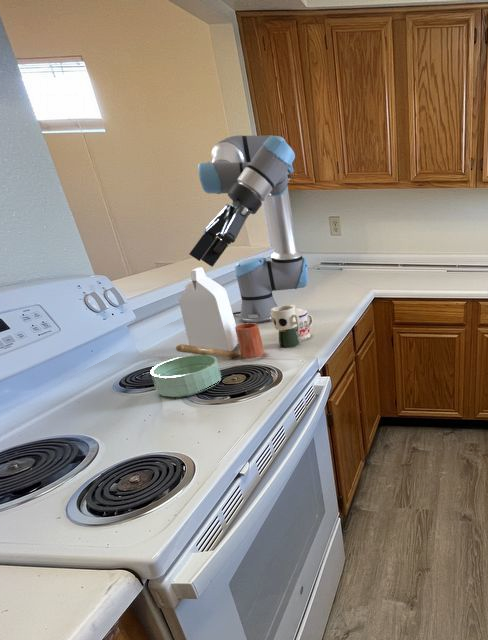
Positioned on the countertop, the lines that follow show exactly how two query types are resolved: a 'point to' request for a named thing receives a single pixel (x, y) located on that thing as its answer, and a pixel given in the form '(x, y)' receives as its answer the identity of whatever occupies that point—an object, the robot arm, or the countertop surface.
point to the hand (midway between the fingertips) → (200, 260)
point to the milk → (207, 313)
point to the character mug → (285, 325)
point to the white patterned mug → (302, 323)
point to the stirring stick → (206, 351)
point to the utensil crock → (249, 340)
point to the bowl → (186, 375)
